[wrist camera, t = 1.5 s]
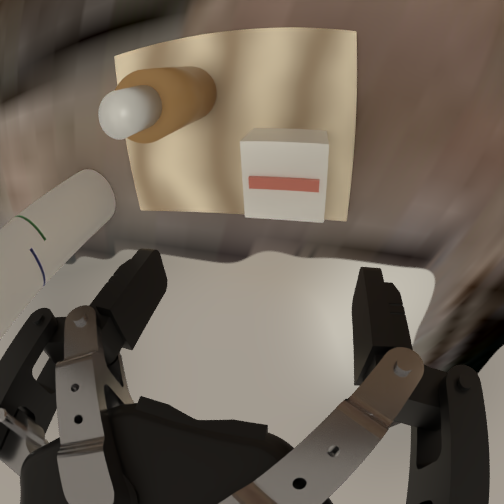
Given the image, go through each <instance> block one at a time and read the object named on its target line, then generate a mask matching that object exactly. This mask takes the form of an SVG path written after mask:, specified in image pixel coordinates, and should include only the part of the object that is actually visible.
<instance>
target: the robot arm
mask: <svg viewBox="0 0 504 504" xmlns="http://www.w3.org/2000/svg"><path fill="white" fill-rule="evenodd" d="M166 288H167V277H166V273H165V270H164V267H163V263H162V259H161V256H160V253H159V251H158V250H153V249H139V250H138V251H137V253H136V254H135V255H134V256H133V258H132V259H129V260H128V261H127V262H125V263H124V264H122V265H121V266H120V267H119V268H118V269H117V271H116V272H115V273H114V276H112V277H111V278H110V279H109V281H108V282H107V283H106V284H105V286H104V287H103V288H102V290H101V291H100V292H99V294H98V295H97V296H96V298H95V299H94V300H93V302H92V303H91V304H90V305H89V306H87V305H85V306H80V307H77V308H75V309H74V310H72V311H71V312H70V313H69V314H68V316H67V317H54V315H53V313H52V312H51V311H50V309H48V308H41V309H38V310H36V311H35V312H34V313H32V314H31V315H30V317H29V318H28V320H27V321H26V322H25V324H24V325H23V327H22V328H21V330H20V331H19V332H18V334H17V335H16V337H15V339H14V340H13V341H12V343H11V344H10V346H9V348H8V349H7V351H6V352H5V354H4V356H3V357H2V359H1V360H0V460H1V461H3V462H4V463H5V464H6V465H7V466H8V467H9V468H11V469H12V470H13V471H14V472H16V473H17V474H18V475H19V476H20V486H21V500H20V501H21V502H20V504H333V503H332V502H331V500H330V499H329V497H330V496H331V495H332V494H333V493H334V492H335V491H336V490H337V489H338V488H339V487H340V486H341V485H342V484H343V483H344V482H345V481H346V480H347V478H348V477H349V476H350V475H351V474H352V473H353V472H354V471H355V470H356V469H357V467H358V466H359V465H360V464H361V463H362V462H363V461H364V460H365V458H366V457H367V456H368V455H369V454H370V453H371V451H372V450H373V449H374V448H375V446H376V445H377V444H378V443H379V441H380V440H381V439H382V438H383V436H384V435H385V433H386V432H387V431H388V429H389V426H390V424H391V423H392V422H393V421H396V422H400V423H404V424H407V425H410V426H411V454H410V471H409V482H408V492H407V501H406V504H488V503H489V478H490V472H489V471H490V468H489V467H490V466H489V442H488V430H487V421H486V412H485V405H484V399H483V393H482V387H481V382H480V378H479V377H478V375H477V373H476V372H475V371H474V370H473V369H472V368H470V367H468V366H465V365H457V366H454V367H453V368H452V369H450V371H449V372H448V373H447V372H444V371H440V370H437V369H434V368H430V367H428V366H426V365H424V364H423V361H422V359H421V358H420V356H419V355H418V354H417V353H416V352H414V351H413V349H412V344H411V339H410V334H409V329H408V325H407V320H406V316H405V311H404V307H403V306H402V305H403V303H402V299H401V295H400V292H399V291H398V290H397V288H396V287H395V286H394V284H393V283H387V282H384V280H383V275H382V271H381V269H380V268H369V267H361V269H360V271H359V275H358V280H357V284H356V288H355V292H354V296H353V303H352V323H353V345H354V385H360V386H359V387H358V388H357V390H356V391H355V392H354V393H353V394H352V396H350V397H349V398H348V399H345V400H344V401H343V402H341V403H340V404H339V405H338V406H337V407H336V409H335V410H334V411H333V412H332V413H331V414H330V415H329V416H328V417H327V418H326V419H325V420H324V421H323V422H322V423H321V424H320V425H319V426H318V427H317V428H316V429H315V430H314V431H312V432H311V433H310V434H309V435H308V436H307V437H306V438H305V439H304V440H303V441H302V442H301V443H300V444H299V445H297V446H296V447H295V448H293V447H292V446H291V445H290V444H288V443H287V442H286V441H284V440H283V439H281V438H279V437H277V436H275V435H273V434H270V433H268V425H263V424H256V423H250V422H244V421H238V420H196V419H193V418H192V417H190V416H188V415H186V414H184V413H182V412H181V411H179V410H177V409H175V408H173V407H172V406H170V405H168V404H165V403H162V402H158V401H154V400H152V399H149V398H145V397H142V396H141V397H140V399H139V401H138V403H134V402H133V400H132V398H131V396H130V393H129V390H128V386H127V381H126V377H125V372H124V367H123V362H122V357H121V354H120V350H121V348H126V349H129V350H133V348H134V346H135V345H136V343H137V341H138V339H139V337H140V335H141V334H142V332H143V330H144V328H145V327H146V324H147V323H148V321H149V320H150V318H151V316H152V314H153V313H154V311H155V309H156V307H157V306H158V304H159V302H160V300H161V299H162V297H163V295H164V294H165V292H166ZM43 350H44V351H45V353H46V354H47V355H48V356H49V360H48V361H47V363H46V365H45V366H44V368H43V370H42V372H41V374H40V375H39V377H38V379H37V381H36V380H35V379H34V378H33V375H32V368H33V366H34V365H35V363H36V361H37V359H38V358H39V356H40V355H41V353H42V351H43ZM56 409H57V416H58V426H59V435H60V437H59V438H58V439H56V440H54V441H52V442H50V443H49V442H48V441H47V440H46V439H45V433H46V431H47V429H48V426H49V424H50V422H51V420H52V417H53V415H54V413H55V411H56Z"/></svg>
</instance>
